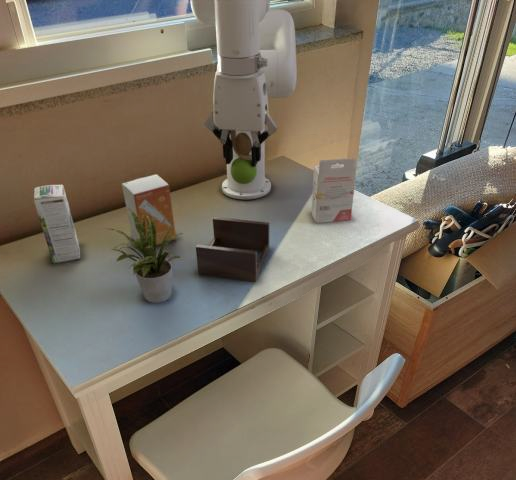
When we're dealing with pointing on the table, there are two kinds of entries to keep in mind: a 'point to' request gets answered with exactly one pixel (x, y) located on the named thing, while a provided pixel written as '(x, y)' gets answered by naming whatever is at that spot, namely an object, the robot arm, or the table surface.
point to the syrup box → (57, 222)
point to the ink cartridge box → (333, 190)
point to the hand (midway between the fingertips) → (242, 161)
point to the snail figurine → (242, 158)
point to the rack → (234, 260)
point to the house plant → (150, 261)
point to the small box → (150, 205)
